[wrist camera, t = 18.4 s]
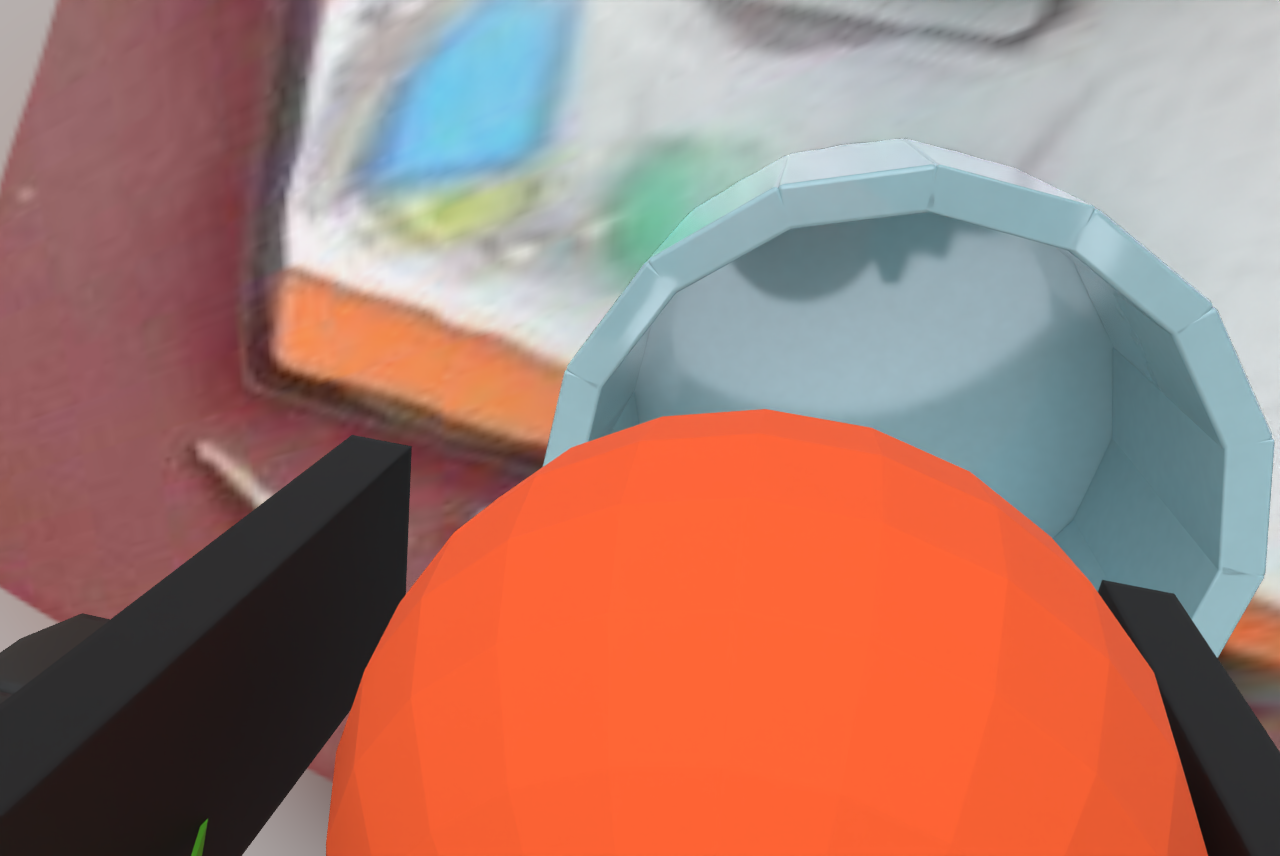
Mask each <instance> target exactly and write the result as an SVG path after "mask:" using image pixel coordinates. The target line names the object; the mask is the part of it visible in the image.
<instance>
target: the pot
mask: <svg viewBox="0 0 1280 856" xmlns="http://www.w3.org/2000/svg"><path fill="white" fill-rule="evenodd" d="M759 409H768V410H774V411H780V412H785V413H791V414H797V415H802V416H808V417H814V418H819V419H825V420H831V421H836V422H842V423H848V424H853V425H859V426H865V427H871V428H873V429H876V430H878V431H880V432H882V433H885V434H887V435H889V436H891V437H894V438H896V439H898V440H900V441H903V442H905V443H907V444H909V445H912V446H914V447H916V448H918V449H920V450H923V451H925V452H927V453H929V454H932V455H934V456H936V457H938V458H941V459H943V460H945V461H947V462H950V463H952V464H954V465H956V466H959V467H961V468H963V469H965V470H967V471H970V472H971V473H972V474H974V475H975V476H976V477H977V478H979V479H980V480H981V481H982V482H984V483H985V484H986V485H987V486H988V487H990V488H991V489H992V490H993V491H995V492H996V493H997V494H998V495H1000V496H1001V497H1002V498H1003V499H1005V500H1006V501H1007V502H1008V503H1010V504H1011V505H1012V506H1013V507H1015V508H1016V509H1017V510H1018V511H1020V512H1021V513H1022V514H1023V515H1025V516H1026V517H1027V518H1028V519H1029V520H1031V521H1032V522H1033V523H1034V524H1036V525H1037V526H1038V527H1039V528H1041V529H1042V530H1043V531H1044V532H1046V533H1047V534H1048V535H1049V536H1051V537H1052V539H1053V540H1054V541H1055V542H1056V543H1057V544H1058V545H1059V547H1060V548H1061V549H1062V550H1063V551H1064V552H1065V553H1066V555H1067V556H1068V557H1069V558H1070V559H1071V560H1072V561H1073V563H1074V564H1075V565H1076V566H1077V567H1078V568H1079V569H1080V570H1081V572H1082V573H1083V574H1084V575H1085V576H1086V577H1087V578H1088V580H1089V581H1090V582H1091V583H1092V585H1093V586H1094V588H1095V589H1096V590H1097V592H1098V590H1099V587H1100V584H1101V581H1102V580H1106V581H1111V582H1117V583H1122V584H1127V585H1132V586H1137V587H1142V588H1148V589H1153V590H1158V591H1163V592H1168V593H1174V594H1175V595H1176V597H1177V598H1178V600H1179V601H1180V603H1181V604H1182V606H1183V607H1184V609H1185V610H1186V612H1187V613H1188V615H1189V616H1190V618H1191V619H1192V621H1193V622H1194V624H1195V625H1196V627H1197V628H1198V630H1199V631H1200V633H1201V634H1202V636H1203V637H1204V639H1205V640H1206V642H1207V643H1208V645H1209V646H1210V648H1211V649H1212V651H1213V652H1214V654H1215V655H1216V657H1217V658H1218V656H1219V655H1220V653H1221V651H1222V649H1223V648H1224V646H1225V644H1226V643H1227V641H1228V639H1229V637H1230V636H1231V634H1232V632H1233V630H1234V629H1235V627H1236V625H1237V623H1238V622H1239V620H1240V618H1241V617H1242V615H1243V613H1244V611H1245V610H1246V608H1247V606H1248V604H1249V603H1250V601H1251V599H1252V597H1253V596H1254V594H1255V592H1256V590H1257V589H1258V587H1259V585H1260V584H1261V582H1262V580H1263V578H1264V575H1265V568H1266V554H1267V540H1268V525H1269V511H1270V497H1271V483H1272V469H1273V455H1274V439H1273V438H1272V433H1271V431H1270V428H1269V426H1268V424H1267V421H1266V419H1265V417H1264V415H1263V412H1262V410H1261V408H1260V405H1259V403H1258V401H1257V399H1256V396H1255V394H1254V392H1253V390H1252V387H1251V385H1250V383H1249V380H1248V378H1247V376H1246V374H1245V371H1244V369H1243V367H1242V364H1241V362H1240V360H1239V358H1238V355H1237V353H1236V351H1235V349H1234V346H1233V344H1232V342H1231V339H1230V337H1229V335H1228V333H1227V330H1226V328H1225V326H1224V323H1223V321H1222V319H1221V317H1220V314H1219V312H1218V310H1217V309H1216V308H1215V307H1213V305H1212V303H1211V301H1210V300H1208V299H1207V298H1206V297H1205V296H1204V295H1202V294H1201V293H1200V292H1199V291H1198V290H1196V289H1195V288H1194V287H1193V286H1192V285H1190V284H1189V283H1188V282H1187V281H1185V280H1184V279H1183V278H1182V277H1181V276H1179V275H1178V274H1177V273H1176V272H1175V271H1173V270H1172V269H1171V268H1170V267H1168V266H1167V265H1166V264H1165V263H1164V262H1162V261H1161V260H1160V259H1159V258H1158V257H1156V256H1155V255H1154V254H1153V253H1152V252H1150V251H1149V250H1148V249H1147V248H1145V247H1144V246H1143V245H1142V244H1141V243H1139V242H1138V241H1137V240H1136V239H1135V238H1133V237H1132V236H1131V235H1130V234H1128V233H1127V232H1126V231H1125V230H1124V229H1122V228H1121V227H1120V226H1119V225H1118V224H1116V223H1115V222H1114V221H1113V220H1112V219H1110V218H1109V217H1108V216H1107V215H1105V214H1104V213H1103V212H1102V211H1101V210H1099V209H1097V208H1095V207H1094V206H1093V205H1091V204H1089V203H1087V202H1085V201H1083V200H1081V199H1078V198H1076V197H1074V196H1072V195H1070V194H1068V193H1066V192H1064V191H1062V190H1060V189H1058V188H1056V187H1054V186H1052V185H1050V184H1048V183H1046V182H1043V181H1041V180H1039V179H1037V178H1035V177H1033V176H1031V175H1029V174H1027V173H1025V172H1023V171H1021V170H1019V169H1017V168H1015V167H1011V166H1008V165H1004V164H1000V163H996V162H993V161H989V160H985V159H982V158H978V157H974V156H970V155H967V154H964V153H961V152H958V151H954V150H949V149H944V148H941V147H937V146H933V145H929V144H926V143H922V142H918V141H915V140H911V139H907V138H904V139H901V138H897V139H890V140H883V141H875V142H867V143H854V144H843V145H838V146H833V147H828V148H823V149H818V150H811V151H804V152H797V153H791V154H789V156H787V155H786V156H783V157H781V158H780V159H778V160H776V161H774V162H773V163H771V164H769V165H768V166H766V167H764V168H762V169H761V170H759V171H757V172H755V173H753V174H752V175H750V176H748V177H746V178H744V179H742V180H740V181H738V182H737V183H735V184H734V185H732V186H731V187H729V188H728V189H726V190H725V191H723V192H721V193H720V194H718V195H716V196H715V197H713V198H711V199H709V200H708V201H706V202H704V203H703V204H701V205H699V206H698V207H696V208H694V209H693V210H692V211H691V212H690V213H689V214H688V215H687V216H686V217H685V218H684V219H683V220H682V221H681V223H680V224H679V225H678V226H677V227H676V228H675V229H674V230H673V232H672V233H671V234H670V235H669V236H668V237H667V238H666V239H665V241H664V242H663V243H662V244H661V245H660V246H659V247H658V248H657V250H656V251H655V252H654V253H653V254H652V255H651V256H650V257H649V259H648V260H647V261H646V262H645V263H644V264H643V266H642V267H641V268H640V270H639V271H638V272H637V274H636V275H635V276H634V278H633V279H632V280H631V282H630V283H629V284H628V286H627V287H626V288H625V290H624V291H623V292H622V294H621V295H620V296H619V298H618V299H617V300H616V302H615V303H614V304H613V306H612V307H611V308H610V310H609V311H608V312H607V314H606V315H605V316H604V318H603V319H602V320H601V322H600V323H599V324H598V326H597V327H596V328H595V330H594V331H593V332H592V334H591V335H590V336H589V338H588V339H587V340H586V342H585V343H584V344H583V346H582V347H581V348H580V350H579V351H578V352H577V354H576V355H575V356H574V358H573V359H572V360H571V362H570V363H569V364H568V366H567V370H566V371H565V372H564V375H563V379H562V384H561V388H560V392H559V397H558V401H557V406H556V410H555V415H554V419H553V423H552V428H551V432H550V437H549V441H548V445H547V450H546V454H545V459H544V463H543V467H544V466H545V465H547V464H548V463H550V462H551V461H553V460H554V459H555V458H557V457H558V456H560V455H561V454H563V453H564V452H566V451H567V450H568V449H570V448H571V447H574V446H577V445H580V444H583V443H586V442H589V441H592V440H595V439H598V438H601V437H604V436H606V435H609V434H612V433H615V432H618V431H621V430H624V429H627V428H630V427H633V426H636V425H639V424H642V423H645V422H647V421H650V420H653V419H656V418H659V417H662V416H675V415H689V414H703V413H717V412H731V411H745V410H759Z"/></svg>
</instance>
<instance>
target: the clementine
mask: <svg viewBox="0 0 1280 856" xmlns="http://www.w3.org/2000/svg"><path fill="white" fill-rule="evenodd" d="M207 822H208V819H207V820H206V821H205V822H204V823H203V824H202V825H201V826H200V829H199V832H198V835H197V838H196V842H195V845H194V848H193V851H192V854H191V856H202V853H203V847H204V841H205V835H206V828H207ZM326 856H1208V854H1207V850H1206V847H1205V843H1204V840H1203V836H1202V833H1201V829H1200V826H1199V823H1198V819H1197V816H1196V812H1195V809H1194V805H1193V802H1192V798H1191V795H1190V791H1189V788H1188V784H1187V781H1186V777H1185V774H1184V771H1183V767H1182V764H1181V760H1180V757H1179V754H1178V750H1177V747H1176V744H1175V741H1174V737H1173V734H1172V731H1171V727H1170V724H1169V721H1168V717H1167V714H1166V711H1165V707H1164V704H1163V701H1162V697H1161V694H1160V691H1159V687H1158V684H1157V681H1156V677H1155V674H1154V672H1153V670H1152V669H1151V668H1150V666H1149V665H1148V663H1147V662H1146V660H1145V659H1144V658H1143V656H1142V655H1141V653H1140V652H1139V650H1138V649H1137V648H1136V646H1135V645H1134V643H1133V642H1132V640H1131V639H1130V638H1129V636H1128V635H1127V633H1126V632H1125V630H1124V629H1123V628H1122V626H1121V625H1120V623H1119V622H1118V620H1117V619H1116V618H1115V616H1114V615H1113V613H1112V612H1111V610H1110V609H1109V608H1108V606H1107V605H1106V603H1105V602H1104V600H1103V599H1102V598H1101V596H1100V595H1099V593H1098V592H1097V590H1096V589H1095V588H1094V586H1093V585H1092V583H1091V582H1090V581H1089V580H1088V578H1087V577H1086V576H1085V575H1084V574H1083V573H1082V572H1081V570H1080V569H1079V568H1078V567H1077V566H1076V565H1075V564H1074V563H1073V561H1072V560H1071V559H1070V558H1069V557H1068V556H1067V555H1066V553H1065V552H1064V551H1063V550H1062V549H1061V548H1060V547H1059V545H1058V544H1057V543H1056V542H1055V541H1054V540H1053V539H1052V537H1051V536H1049V535H1048V534H1047V533H1046V532H1044V531H1043V530H1042V529H1041V528H1039V527H1038V526H1037V525H1036V524H1034V523H1033V522H1032V521H1031V520H1029V519H1028V518H1027V517H1026V516H1025V515H1023V514H1022V513H1021V512H1020V511H1018V510H1017V509H1016V508H1015V507H1013V506H1012V505H1011V504H1010V503H1008V502H1007V501H1006V500H1005V499H1003V498H1002V497H1001V496H1000V495H998V494H997V493H996V492H995V491H993V490H992V489H991V488H990V487H988V486H987V485H986V484H985V483H984V482H982V481H981V480H980V479H979V478H977V477H976V476H975V475H974V474H972V473H971V472H970V471H967V470H965V469H963V468H961V467H959V466H956V465H954V464H952V463H950V462H947V461H945V460H943V459H941V458H938V457H936V456H934V455H932V454H929V453H927V452H925V451H923V450H920V449H918V448H916V447H914V446H912V445H909V444H907V443H905V442H903V441H900V440H898V439H896V438H894V437H891V436H889V435H887V434H885V433H882V432H880V431H878V430H876V429H873V428H871V427H865V426H859V425H853V424H848V423H842V422H836V421H831V420H825V419H819V418H814V417H808V416H802V415H797V414H791V413H785V412H780V411H774V410H768V409H759V410H745V411H731V412H717V413H703V414H689V415H675V416H662V417H659V418H656V419H653V420H650V421H647V422H645V423H642V424H639V425H636V426H633V427H630V428H627V429H624V430H621V431H618V432H615V433H612V434H609V435H606V436H604V437H601V438H598V439H595V440H592V441H589V442H586V443H583V444H580V445H577V446H574V447H571V448H570V449H568V450H567V451H566V452H564V453H563V454H561V455H560V456H558V457H557V458H555V459H554V460H553V461H551V462H550V463H548V464H547V465H545V466H544V467H542V468H541V469H540V470H538V471H537V472H535V473H534V474H532V475H531V476H529V477H528V478H527V479H525V480H524V481H522V482H521V483H519V484H518V485H516V486H515V487H514V488H512V489H511V490H509V491H508V492H506V493H505V494H503V495H502V496H501V497H499V498H498V499H497V500H495V501H494V502H493V503H491V504H490V505H489V506H487V507H486V508H485V509H484V510H482V511H481V512H480V513H478V514H477V515H476V516H475V517H473V518H472V519H471V520H469V521H468V522H467V523H466V524H464V525H463V526H462V527H460V528H459V529H458V530H457V531H455V532H454V533H453V534H452V536H451V537H450V538H449V540H448V541H447V542H446V543H445V545H444V546H443V547H442V549H441V550H440V551H439V552H438V554H437V555H436V556H435V558H434V559H433V560H432V562H431V563H430V564H429V565H428V567H427V568H426V569H425V571H424V572H423V573H422V574H421V576H420V577H419V578H418V580H417V581H416V582H415V583H414V585H413V586H412V587H411V589H410V590H409V591H408V592H407V594H406V595H405V596H404V598H403V599H402V600H401V601H400V603H399V604H398V606H397V608H396V610H395V612H394V614H393V616H392V618H391V620H390V622H389V624H388V626H387V628H386V630H385V632H384V634H383V636H382V637H381V639H380V641H379V643H378V645H377V647H376V649H375V651H374V653H373V655H372V657H371V659H370V661H369V663H368V665H367V667H366V669H365V670H364V673H363V676H362V679H361V682H360V685H359V688H358V691H357V694H356V696H355V699H354V702H353V705H352V708H351V711H350V714H349V717H348V720H347V722H346V725H345V728H344V731H343V734H342V737H341V740H340V743H339V746H338V749H337V751H336V759H335V768H334V777H333V786H332V795H331V805H330V814H329V822H328V831H327V841H326Z"/></svg>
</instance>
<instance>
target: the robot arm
mask: <svg viewBox="0 0 1280 856" xmlns="http://www.w3.org/2000/svg"><path fill="white" fill-rule="evenodd" d="M411 448H412V446H406V445H401V444H396V443H391V442H386V441H381V440H375V439H370V438H365V437H360V436H355V435H351V436H350V437H349V438H348V439H346V440H345V441H344V442H342V443H341V444H340V445H338V446H337V447H336V448H334V449H333V450H332V451H331V452H329V453H328V454H327V455H325V456H324V457H323V458H321V459H320V460H319V461H317V462H316V463H315V464H314V465H312V466H311V467H310V468H308V469H307V470H306V471H304V472H303V473H302V474H300V475H299V476H298V477H297V478H295V479H294V480H293V481H291V482H290V483H289V484H287V485H286V486H285V487H283V488H282V489H281V490H280V491H278V492H277V493H276V494H274V495H273V496H272V497H270V498H269V499H268V500H266V501H265V502H264V503H263V504H261V505H260V506H259V507H257V508H256V509H255V510H253V511H252V512H251V513H249V514H248V515H247V516H246V517H244V518H243V519H242V520H240V521H239V522H238V523H236V524H235V525H234V526H232V527H231V528H230V529H229V530H227V531H226V532H225V533H223V534H222V535H221V536H219V537H218V538H217V539H215V540H214V541H213V542H212V543H210V544H209V545H208V546H206V547H205V548H204V549H202V550H201V551H200V552H198V553H197V554H196V555H195V556H193V557H192V558H191V559H189V560H188V561H187V562H185V563H184V564H183V565H181V566H180V567H179V568H178V569H176V570H175V571H174V572H172V573H171V574H170V575H168V576H167V577H166V578H164V579H163V580H162V581H161V582H159V583H158V584H157V585H155V586H154V587H153V588H151V589H150V590H149V591H147V592H146V593H145V594H144V595H142V596H141V597H140V598H138V599H137V600H136V601H134V602H133V603H132V604H130V605H129V606H128V607H126V608H125V609H124V610H123V611H121V612H120V613H119V614H117V615H116V616H115V617H113V618H112V619H111V620H110V619H105V618H101V617H96V616H92V615H87V614H83V613H82V614H80V615H77V616H75V617H73V618H70V619H68V620H65V621H63V622H60V623H58V624H55V625H53V626H50V627H48V628H46V629H43V630H41V631H38V632H36V633H33V634H31V635H28V636H26V637H24V638H21V639H19V640H18V641H17V642H15V643H14V644H12V645H11V646H9V647H8V648H6V649H5V650H3V651H2V652H1V653H0V856H191V854H192V851H193V848H194V845H195V842H196V838H197V835H198V832H199V829H200V826H201V825H202V824H203V823H204V822H205V821H206V820H207V819H208V822H207V828H206V835H205V841H204V847H203V853H202V856H242V854H243V853H244V852H245V850H246V849H247V848H248V846H249V845H250V844H251V842H252V841H253V840H254V838H255V837H256V836H257V834H258V833H259V832H260V830H261V829H262V828H263V826H264V825H265V824H266V822H267V821H268V819H269V818H270V817H271V816H272V814H273V813H274V812H275V810H276V809H277V807H278V806H279V805H280V804H281V802H282V801H283V800H284V798H285V797H286V796H287V794H288V793H289V791H290V790H291V789H292V788H293V786H294V785H295V784H296V782H297V781H298V779H299V778H300V777H301V775H302V774H303V773H304V771H305V770H306V769H307V767H308V766H309V765H310V763H311V762H312V761H313V759H314V758H315V757H316V755H317V754H318V753H319V751H320V750H321V749H322V747H323V746H324V745H325V743H326V742H327V741H328V739H329V738H330V737H331V735H332V734H333V733H334V731H335V730H336V729H337V727H338V726H339V725H340V723H341V722H342V721H343V719H344V718H345V717H346V715H347V714H348V713H349V711H350V710H351V708H352V705H353V702H354V699H355V696H356V694H357V691H358V688H359V685H360V682H361V679H362V676H363V673H364V670H365V669H366V667H367V665H368V663H369V661H370V659H371V657H372V655H373V653H374V651H375V649H376V647H377V645H378V643H379V641H380V639H381V637H382V636H383V634H384V632H385V630H386V628H387V626H388V624H389V622H390V620H391V618H392V616H393V614H394V612H395V610H396V608H397V606H398V604H399V603H400V601H401V600H402V599H403V598H404V596H405V595H406V572H407V547H408V522H409V498H410V473H411ZM1098 593H1099V595H1100V596H1101V598H1102V599H1103V600H1104V602H1105V603H1106V605H1107V606H1108V608H1109V609H1110V610H1111V612H1112V613H1113V615H1114V616H1115V618H1116V619H1117V620H1118V622H1119V623H1120V625H1121V626H1122V628H1123V629H1124V630H1125V632H1126V633H1127V635H1128V636H1129V638H1130V639H1131V640H1132V642H1133V643H1134V645H1135V646H1136V648H1137V649H1138V650H1139V652H1140V653H1141V655H1142V656H1143V658H1144V659H1145V660H1146V662H1147V663H1148V665H1149V666H1150V668H1151V669H1152V670H1153V672H1154V674H1155V677H1156V681H1157V684H1158V687H1159V691H1160V694H1161V697H1162V701H1163V704H1164V707H1165V711H1166V714H1167V717H1168V721H1169V724H1170V727H1171V731H1172V734H1173V737H1174V741H1175V744H1176V747H1177V750H1178V754H1179V757H1180V760H1181V764H1182V767H1183V771H1184V774H1185V777H1186V781H1187V784H1188V788H1189V791H1190V795H1191V798H1192V802H1193V805H1194V809H1195V812H1196V816H1197V819H1198V823H1199V826H1200V829H1201V833H1202V836H1203V840H1204V843H1205V847H1206V850H1207V854H1208V856H1280V752H1279V750H1278V749H1277V747H1276V746H1275V744H1274V743H1273V741H1272V740H1271V738H1270V737H1269V735H1268V734H1267V732H1266V731H1265V729H1264V728H1263V726H1262V725H1261V723H1260V722H1259V720H1258V719H1257V717H1256V716H1255V714H1254V713H1253V711H1252V710H1251V708H1250V707H1249V705H1248V704H1247V702H1246V701H1245V699H1244V698H1243V696H1242V695H1241V693H1240V692H1239V690H1238V689H1237V687H1236V686H1235V684H1234V683H1233V681H1232V680H1231V678H1230V677H1229V675H1228V674H1227V672H1226V671H1225V669H1224V667H1223V666H1222V664H1221V663H1220V661H1219V660H1218V658H1217V657H1216V655H1215V654H1214V652H1213V651H1212V649H1211V648H1210V646H1209V645H1208V643H1207V642H1206V640H1205V639H1204V637H1203V636H1202V634H1201V633H1200V631H1199V630H1198V628H1197V627H1196V625H1195V624H1194V622H1193V621H1192V619H1191V618H1190V616H1189V615H1188V613H1187V612H1186V610H1185V609H1184V607H1183V606H1182V604H1181V603H1180V601H1179V600H1178V598H1177V597H1176V595H1175V594H1174V593H1168V592H1163V591H1158V590H1153V589H1148V588H1142V587H1137V586H1132V585H1127V584H1122V583H1117V582H1111V581H1106V580H1102V581H1101V584H1100V587H1099V590H1098Z"/></svg>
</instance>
